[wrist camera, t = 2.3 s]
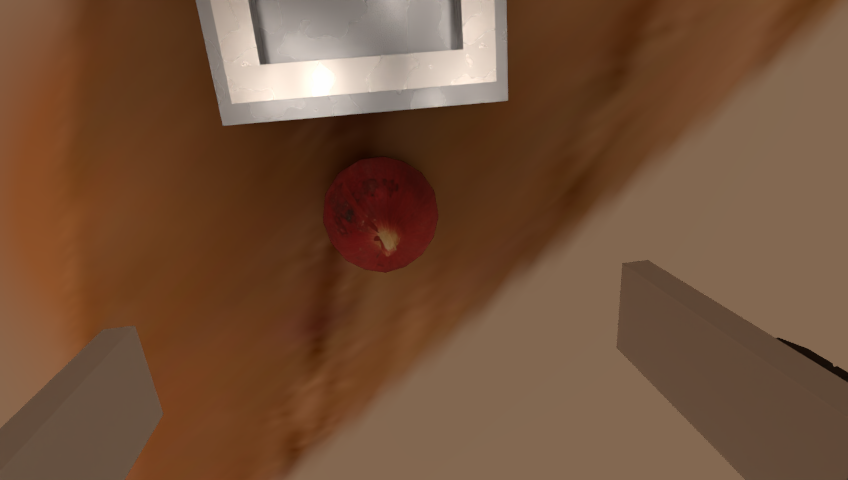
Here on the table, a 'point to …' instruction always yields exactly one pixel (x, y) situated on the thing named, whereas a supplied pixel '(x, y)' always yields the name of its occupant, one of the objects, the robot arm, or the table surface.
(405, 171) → the onion
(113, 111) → the table surface
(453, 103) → the silver shallow square tray
